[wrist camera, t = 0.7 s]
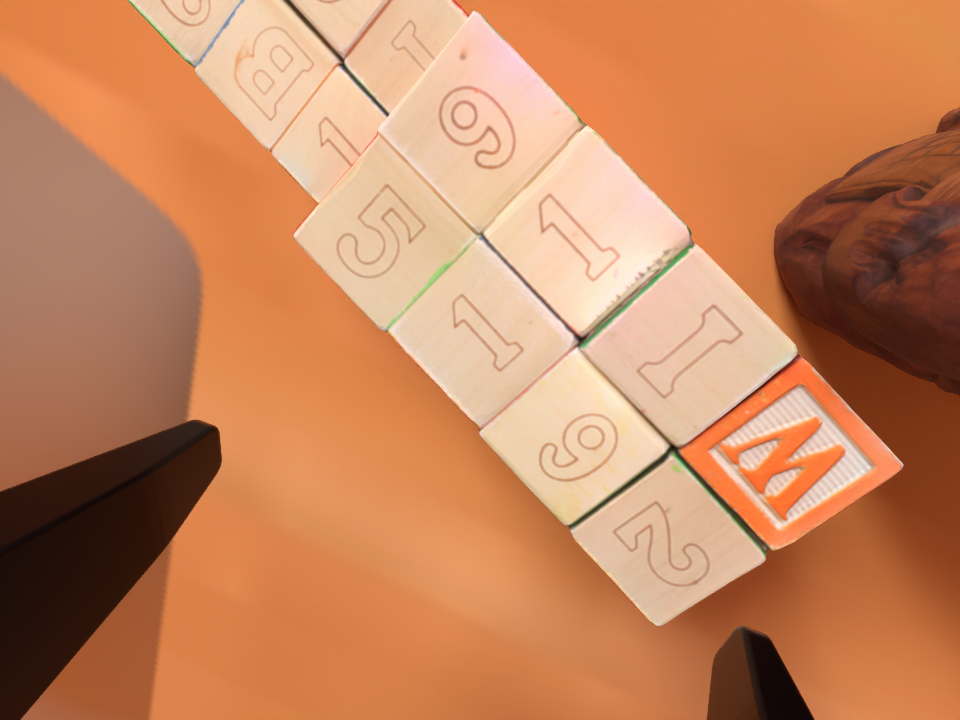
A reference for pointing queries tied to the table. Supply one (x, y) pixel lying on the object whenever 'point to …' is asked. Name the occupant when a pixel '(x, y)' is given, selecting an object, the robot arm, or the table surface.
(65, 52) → the table surface
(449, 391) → the stack of blocks
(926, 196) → the wooden figurine
